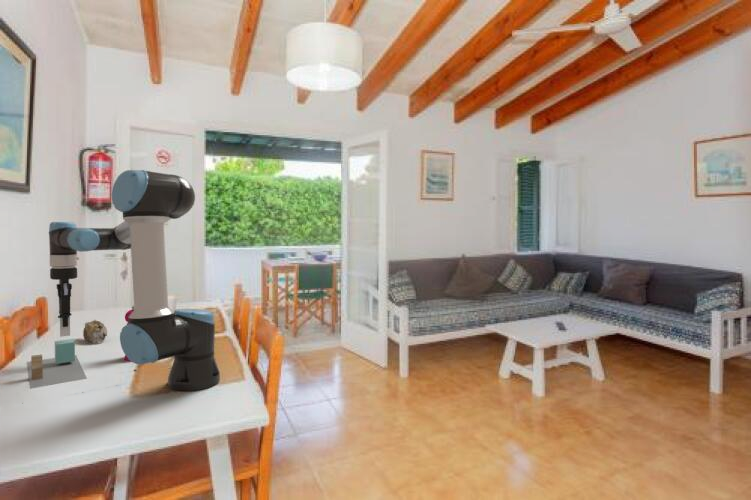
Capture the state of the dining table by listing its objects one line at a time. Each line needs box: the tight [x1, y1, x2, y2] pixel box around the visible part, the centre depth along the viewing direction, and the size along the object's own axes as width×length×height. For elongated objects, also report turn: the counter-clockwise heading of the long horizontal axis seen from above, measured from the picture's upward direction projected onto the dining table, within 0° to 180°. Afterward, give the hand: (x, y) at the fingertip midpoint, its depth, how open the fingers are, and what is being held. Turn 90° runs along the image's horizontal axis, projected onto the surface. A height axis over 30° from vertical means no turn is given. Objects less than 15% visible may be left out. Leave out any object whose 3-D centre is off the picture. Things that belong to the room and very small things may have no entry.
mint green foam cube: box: [54, 338, 76, 364], centre depth 148 cm, size 5×5×7 cm
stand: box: [26, 354, 88, 389], centre depth 142 cm, size 30×14×1 cm, turn 40°
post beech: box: [30, 354, 43, 380], centre depth 134 cm, size 3×3×7 cm
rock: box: [82, 319, 108, 345], centre depth 179 cm, size 12×7×10 cm, turn 48°
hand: (65, 335), depth 148 cm, fingers closed
